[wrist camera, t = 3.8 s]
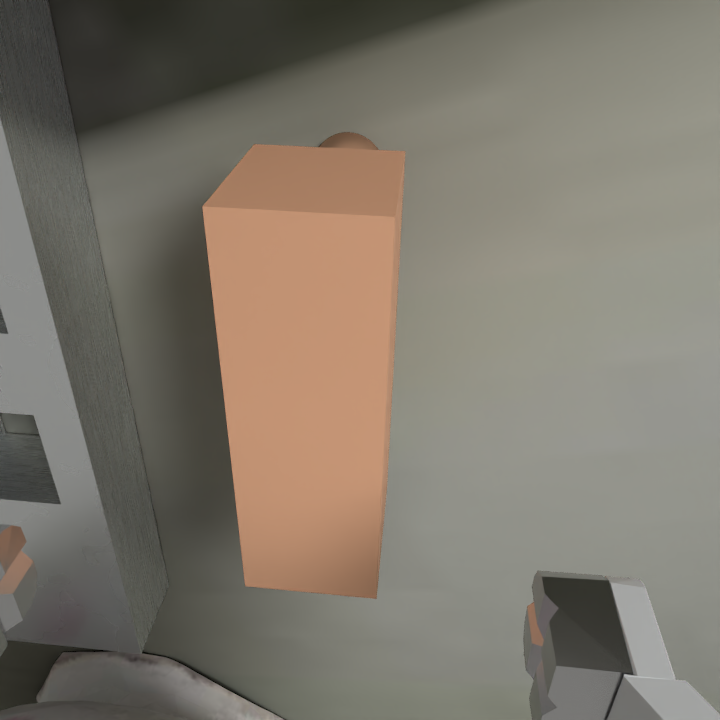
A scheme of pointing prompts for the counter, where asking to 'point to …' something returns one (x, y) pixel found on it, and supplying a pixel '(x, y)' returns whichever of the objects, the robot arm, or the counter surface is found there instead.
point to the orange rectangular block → (308, 355)
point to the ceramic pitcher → (131, 692)
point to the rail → (65, 373)
